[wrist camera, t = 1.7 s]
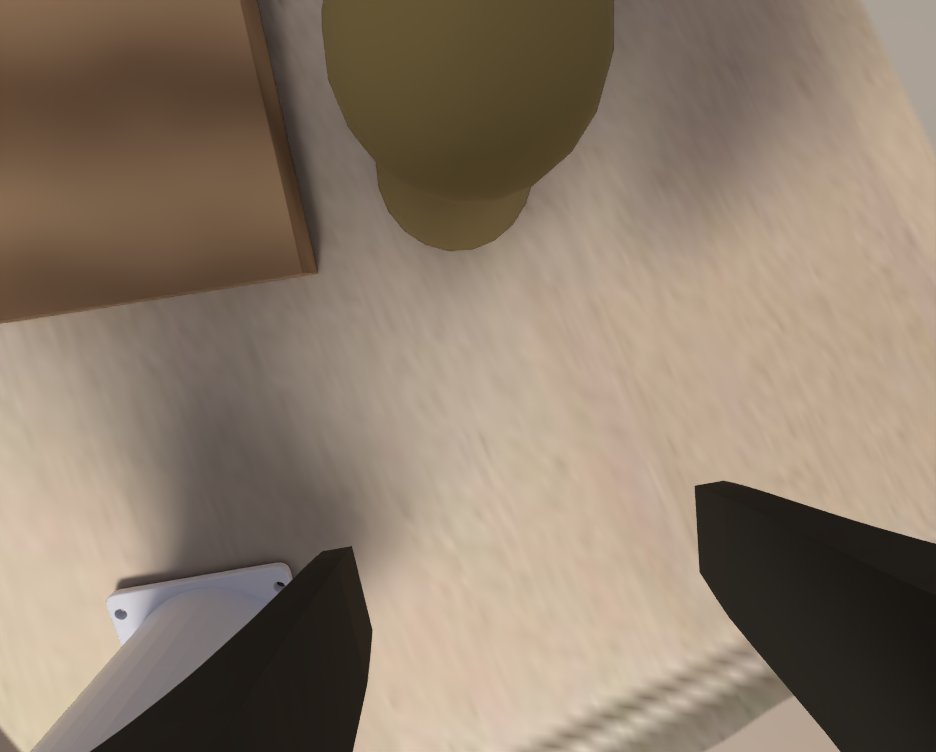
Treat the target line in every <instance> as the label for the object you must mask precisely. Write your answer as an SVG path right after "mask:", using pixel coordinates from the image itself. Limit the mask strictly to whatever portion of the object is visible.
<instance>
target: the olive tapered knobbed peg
mask: <svg viewBox="0 0 936 752" xmlns="http://www.w3.org/2000/svg"><path fill="white" fill-rule="evenodd" d="M322 32H323V40H324V49H325V57H326V65H327V73H328V80H329V83H330V85H331V87H332V90H333V92H334V95H335V97H336V99H337V102H338V104H339V106H340V109H341V111H342V114H343V116H344V118H345V121H346V123H347V125H348V127H349V129H350V130H351V131H352V133H353V134H354V136H355V137H356V138H357V139H358V141H359V142H360V143H361V144H362V146H363V147H364V148H365V149H366V150H367V152H368V153H369V154H370V155H371V157H372V158H373V159H374V160H375V161H376V167H377V177H378V186H379V190H380V192H381V195H382V197H383V199H384V202H385V204H386V207H387V209H388V211H389V213H390V214H391V215H392V216H393V218H394V219H395V220H396V221H397V222H398V224H399V225H400V226H401V227H402V228H403V230H404V231H405V232H407V233H408V234H410V235H411V236H413V237H414V238H416V239H417V240H419V241H421V242H422V243H424V244H425V245H428V246H432V247H436V248H440V249H444V250H447V251H455V250H469V249H474V248H477V247H479V246H482V245H484V244H487V243H489V242H491V241H494V240H495V239H497V238H498V237H499V236H500V235H501V234H502V233H504V232H505V231H506V230H507V229H508V228H509V227H510V226H512V225H513V224H514V222H515V220H516V219H517V217H518V215H519V214H520V212H521V211H522V209H523V207H524V206H525V204H526V202H527V198H528V195H529V191H530V188H531V186H533V185H534V184H535V183H536V182H538V181H539V180H540V179H541V178H542V177H543V176H544V175H546V174H547V173H548V172H549V171H550V170H551V169H553V168H554V167H555V166H556V165H557V164H558V163H559V162H561V161H562V160H563V159H564V158H565V157H566V156H567V155H568V154H570V153H571V152H572V151H573V149H574V147H575V146H576V144H577V143H578V141H579V139H580V138H581V136H582V134H583V133H584V131H585V130H586V128H587V126H588V125H589V123H590V122H591V120H592V118H593V117H594V115H595V114H596V112H597V109H598V105H599V102H600V98H601V94H602V91H603V87H604V84H605V80H606V76H607V73H608V69H609V66H610V62H611V58H612V54H613V50H614V0H323V5H322Z"/></svg>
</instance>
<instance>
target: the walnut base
mask: <svg viewBox="0 0 936 752" xmlns="http://www.w3.org/2000/svg"><path fill="white" fill-rule="evenodd" d="M311 274H318V273H317V268H316V264H315V259H314V255H313V250H312V246H311V241H310V237H309V232H308V228H307V223H306V219H305V214H304V210H303V205H302V201H301V196H300V192H299V187H298V183H297V178H296V174H295V169H294V165H293V160H292V156H291V152H290V147H289V143H288V138H287V134H286V129H285V125H284V120H283V116H282V111H281V107H280V102H279V98H278V93H277V89H276V84H275V80H274V75H273V71H272V66H271V62H270V57H269V53H268V48H267V44H266V39H265V35H264V30H263V26H262V21H261V17H260V12H259V8H258V3H257V0H0V323H8V322H16V321H22V320H28V319H35V318H41V317H47V316H53V315H60V314H66V313H72V312H79V311H85V310H91V309H97V308H104V307H110V306H116V305H123V304H129V303H135V302H141V301H148V300H154V299H160V298H167V297H173V296H179V295H186V294H192V293H198V292H204V291H211V290H217V289H223V288H230V287H236V286H242V285H248V284H255V283H261V282H267V281H274V280H280V279H286V278H292V277H299V276H305V275H311Z"/></svg>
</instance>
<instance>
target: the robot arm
mask: <svg viewBox="0 0 936 752" xmlns="http://www.w3.org/2000/svg"><path fill="white" fill-rule="evenodd" d="M695 499H696V517H697V534H698V551H699V568H700V573H701V575H702V576H703V578H704V580H705V581H706V583H707V584H708V586H709V588H710V589H711V591H712V592H713V594H714V595H715V597H716V599H717V600H718V601H719V603H720V604H721V606H722V607H723V609H724V610H725V612H726V613H727V615H728V616H729V618H730V619H731V620H732V621H733V623H734V624H735V625H736V626H737V628H738V629H739V630H740V631H741V632H742V634H743V635H744V636H745V637H746V639H747V640H748V641H749V642H750V643H751V645H752V646H753V647H754V648H755V649H756V651H757V652H758V653H759V654H760V655H761V657H762V658H763V659H764V660H765V661H766V663H767V664H768V665H769V666H770V667H771V668H772V670H773V671H774V672H775V673H776V674H777V676H778V677H779V678H780V679H781V680H782V681H783V683H784V684H785V685H786V686H787V687H788V689H789V690H790V691H791V692H792V693H793V695H794V696H795V697H796V698H797V699H798V700H799V702H800V703H801V704H802V705H803V706H804V708H805V709H806V710H807V711H808V712H809V714H810V715H811V716H812V717H813V718H814V719H815V721H816V722H817V723H818V724H819V725H820V727H821V728H822V729H823V730H824V731H825V732H826V734H827V735H828V736H829V738H830V739H831V740H832V741H833V743H834V744H835V745H836V746H837V748H838V749H839V750H840V751H841V752H936V544H934V543H930V542H927V541H923V540H919V539H916V538H912V537H909V536H905V535H902V534H898V533H895V532H891V531H888V530H884V529H881V528H877V527H874V526H870V525H867V524H864V523H860V522H857V521H854V520H851V519H847V518H844V517H841V516H838V515H835V514H831V513H828V512H825V511H822V510H819V509H816V508H813V507H810V506H807V505H804V504H800V503H797V502H794V501H791V500H788V499H785V498H782V497H779V496H776V495H773V494H770V493H766V492H763V491H760V490H757V489H753V488H750V487H747V486H743V485H739V484H736V483H731V482H727V481H720V482H714V483H708V484H703V485H697V486H695ZM277 582H282V583H284V585H285V586H279V585H278V584H277ZM106 606H107V608H108V611H109V614H110V616H111V619H112V622H113V624H114V627H115V629H116V632H117V635H118V637H119V640H120V643H121V645H122V647H121V648H120V649H119V650H118V652H117V653H116V654H115V655H114V656H113V657H112V658H111V660H110V661H109V662H108V663H107V664H106V665H105V666H104V668H103V669H102V670H101V671H100V672H99V673H98V674H97V676H96V677H95V678H94V679H93V680H92V681H91V683H90V684H89V685H88V686H87V687H86V688H85V689H84V691H83V692H82V693H81V694H80V695H79V696H78V697H77V699H76V700H75V701H74V702H73V703H72V704H71V705H70V707H69V708H68V709H67V710H66V711H65V712H64V713H63V715H62V716H61V717H60V718H59V719H58V720H57V721H56V723H55V724H54V725H53V726H52V727H51V728H50V729H49V731H48V732H47V733H46V734H45V735H44V736H43V738H42V739H41V740H40V741H39V742H38V743H37V744H36V746H35V747H34V748H33V749H32V750H31V751H30V752H353V748H354V743H355V738H356V734H357V729H358V725H359V720H360V715H361V711H362V706H363V701H364V697H365V692H366V687H367V681H368V672H369V663H370V653H371V642H372V627H371V623H370V618H369V614H368V610H367V606H366V602H365V598H364V594H363V590H362V586H361V582H360V578H359V574H358V570H357V565H356V561H355V557H354V553H353V549H352V546H351V547H345V548H339V549H334V550H328V551H323V552H321V553H320V554H319V555H318V556H317V557H315V558H314V559H313V560H312V561H311V562H310V563H309V564H308V565H307V566H306V567H305V568H304V569H303V570H302V571H301V572H300V573H299V574H298V575H296V576H295V577H294V578H292V574H291V571H290V569H289V567H288V566H287V565H286V564H284V563H281V562H276V563H271V564H265V565H259V566H253V567H247V568H241V569H235V570H230V571H224V572H218V573H212V574H206V575H200V576H195V577H189V578H183V579H177V580H171V581H165V582H160V583H154V584H148V585H142V586H136V587H130V588H124V589H119V590H116V591H114V592H113V593H112V594H111V595H110V596H109V597H108V598H107V600H106ZM121 609H123V610H124V611H126V613H125V612H123V611H122V610H121Z"/></svg>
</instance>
